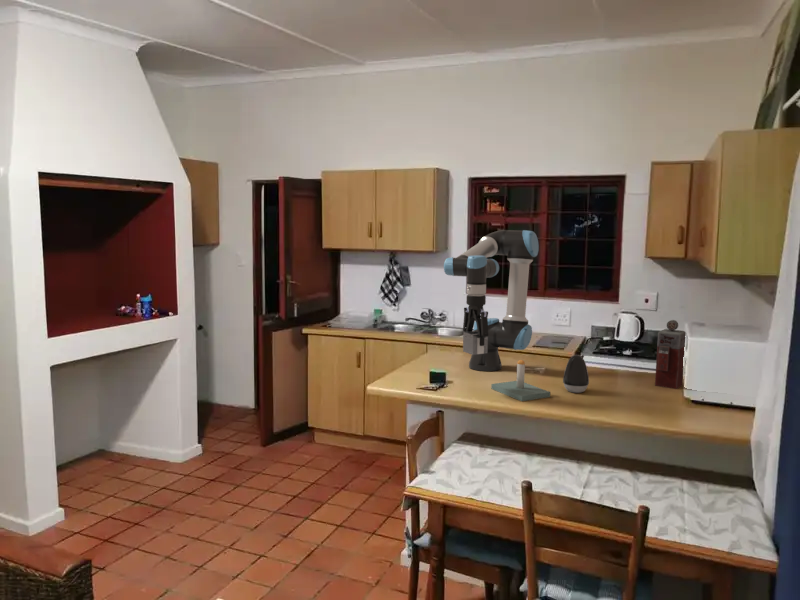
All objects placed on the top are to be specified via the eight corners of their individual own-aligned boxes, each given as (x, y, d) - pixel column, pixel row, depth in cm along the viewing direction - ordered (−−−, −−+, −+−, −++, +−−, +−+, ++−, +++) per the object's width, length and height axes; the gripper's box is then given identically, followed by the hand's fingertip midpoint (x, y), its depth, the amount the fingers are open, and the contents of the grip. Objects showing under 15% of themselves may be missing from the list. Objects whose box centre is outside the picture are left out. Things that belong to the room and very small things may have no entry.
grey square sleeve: (463, 351, 259) (463, 331, 258) (477, 349, 262) (477, 330, 261) (472, 354, 253) (473, 334, 252) (487, 353, 256) (487, 333, 255)
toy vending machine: (653, 386, 272) (657, 321, 268) (660, 381, 281) (664, 317, 277) (675, 390, 266) (679, 323, 263) (682, 384, 275) (686, 320, 272)
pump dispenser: (593, 391, 264) (594, 354, 262) (580, 396, 256) (582, 358, 254) (570, 386, 270) (572, 351, 269) (557, 391, 263) (559, 354, 261)
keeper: (491, 388, 266) (492, 356, 264) (518, 384, 272) (519, 353, 271) (521, 401, 248) (522, 367, 247) (550, 396, 255) (551, 363, 253)
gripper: (454, 292, 262) (453, 347, 265) (482, 298, 244) (481, 357, 247) (470, 291, 265) (469, 346, 268) (498, 297, 247) (497, 355, 250)
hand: (474, 351), depth 258 cm, fingers closed on grey square sleeve, 7 cm apart
